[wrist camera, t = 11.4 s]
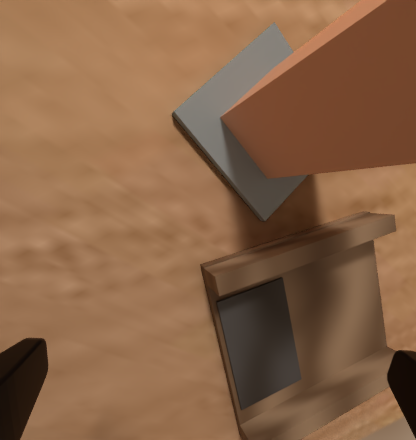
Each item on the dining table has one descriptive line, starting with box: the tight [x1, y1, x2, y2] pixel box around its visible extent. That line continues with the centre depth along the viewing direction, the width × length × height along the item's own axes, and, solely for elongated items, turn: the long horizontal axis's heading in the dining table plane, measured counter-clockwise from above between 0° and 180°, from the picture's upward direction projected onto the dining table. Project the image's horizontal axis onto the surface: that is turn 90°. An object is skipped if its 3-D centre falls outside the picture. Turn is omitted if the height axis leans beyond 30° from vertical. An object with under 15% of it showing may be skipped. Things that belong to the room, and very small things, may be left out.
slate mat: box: [172, 22, 309, 221], centre depth 19 cm, size 9×9×1 cm
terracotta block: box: [220, 0, 416, 179], centre depth 13 cm, size 5×5×12 cm
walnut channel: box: [200, 212, 396, 440], centre depth 20 cm, size 14×13×3 cm
